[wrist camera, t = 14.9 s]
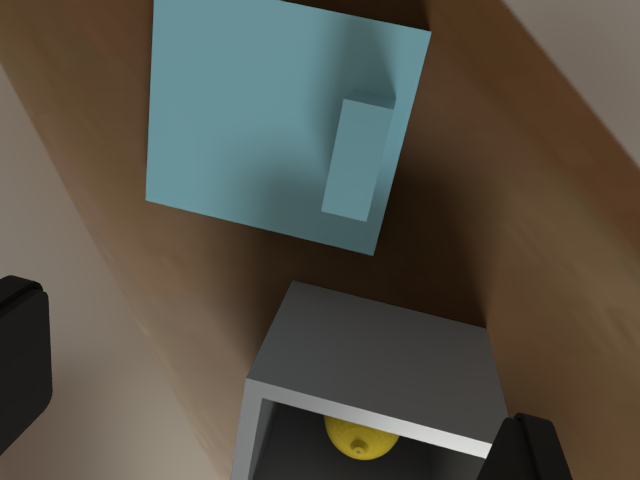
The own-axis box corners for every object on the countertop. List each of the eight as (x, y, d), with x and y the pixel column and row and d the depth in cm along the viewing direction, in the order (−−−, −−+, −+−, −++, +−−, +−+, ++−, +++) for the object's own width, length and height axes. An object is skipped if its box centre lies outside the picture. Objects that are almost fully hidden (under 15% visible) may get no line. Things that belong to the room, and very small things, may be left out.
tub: (487, 328, 35) (517, 450, 25) (438, 452, 40) (446, 595, 30) (292, 280, 36) (246, 377, 26) (269, 406, 41) (222, 529, 31)
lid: (430, 31, 28) (434, 32, 23) (375, 243, 34) (368, 285, 28) (171, -22, 29) (115, -34, 24) (159, 191, 35) (112, 221, 29)
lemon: (333, 336, 37) (314, 411, 30) (409, 343, 36) (408, 423, 29) (332, 395, 39) (314, 479, 32) (403, 403, 38) (401, 491, 31)
